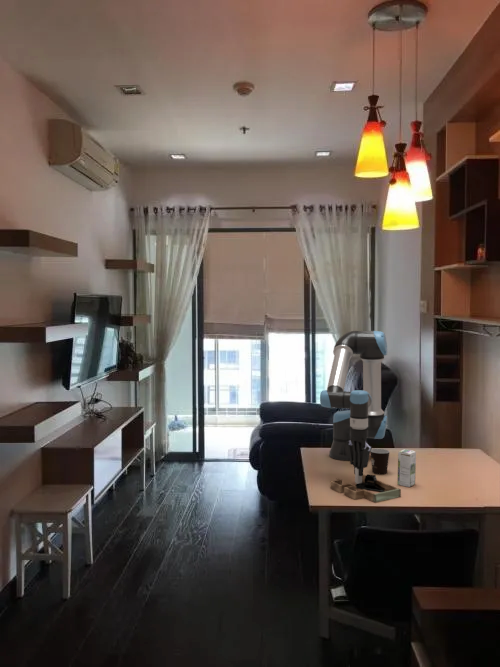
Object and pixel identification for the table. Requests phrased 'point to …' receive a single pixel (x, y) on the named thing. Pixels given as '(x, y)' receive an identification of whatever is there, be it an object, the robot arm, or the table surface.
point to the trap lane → (352, 493)
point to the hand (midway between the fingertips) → (358, 482)
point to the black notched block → (370, 483)
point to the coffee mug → (379, 461)
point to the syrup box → (406, 468)
